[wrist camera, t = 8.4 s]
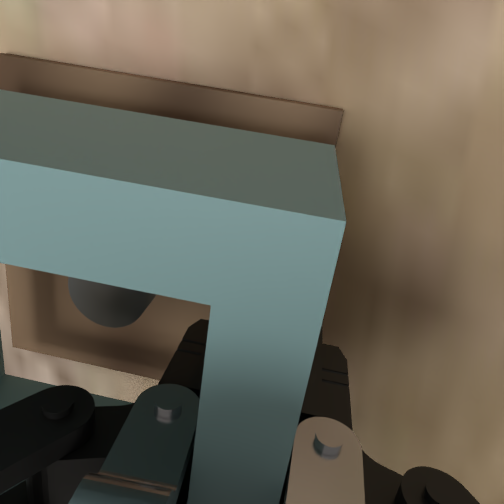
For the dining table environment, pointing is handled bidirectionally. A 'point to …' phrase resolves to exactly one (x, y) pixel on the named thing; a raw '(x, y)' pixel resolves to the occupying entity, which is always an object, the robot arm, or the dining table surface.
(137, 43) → the dining table surface
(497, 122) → the dining table surface
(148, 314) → the shaft block
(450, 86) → the dining table surface
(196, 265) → the collar
